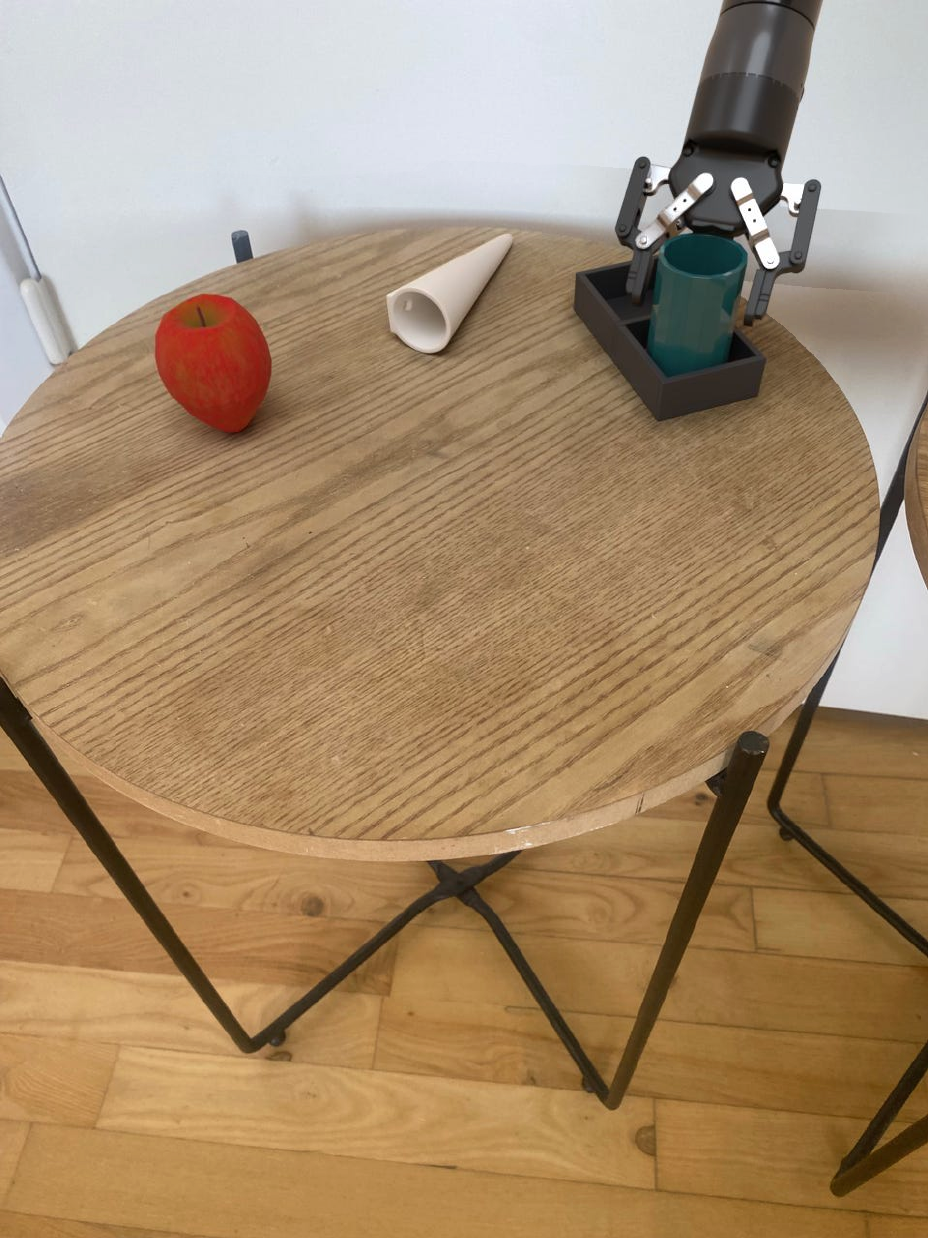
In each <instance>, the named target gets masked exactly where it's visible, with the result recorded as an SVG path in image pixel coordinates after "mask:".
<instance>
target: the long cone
mask: <svg viewBox="0 0 928 1238" xmlns="http://www.w3.org/2000/svg"><path fill="white" fill-rule="evenodd" d="M513 241H514V237H513V235H512V234H511V233H503V234H500V235H498V236H496V237H494V238H492V239H490V240H489V241H487V242H485V243H483V244H481V245H479V246H477V247H476V248H474V249H472V250H470V251H468V252H467V253H464V254H463V255H459V256H457V257H455V258H454V259H451V260H449V261H448V262H446V263H444V264H442V265H440V266H438V267H436V268H434V269H432V270H431V271H428V272H427V273H425V274H423V275H421V276H420V277H419V276H418V277H417V278H416V279H414V280H411V281H410V282H407V284H404V285H403V286H401V287H399V288H397V289H395V290H393V291H391V292H390V293H388V294H386V305H387V315H388V322H389V330H390V332H391V334H395V335H397V336H398V338H399V339H400V340H401V341H402V342H403V343H404V344H405V345H407V347H410V348H411V349H412V350H415V351H417V352H419V353H423V354H435V353H438V352H440V351H442V350H443V349H445V347H446V346H447V345H448V344H449V342H450V340H451V339H452V337H453V336H454V334H455V333H456V331H457V330H458V328H459V327H460V325H461V324H462V322H463V320H464V318H465V317H466V316H467V314H468V313H469V311H470V310H471V308H472V307H473V305H474V303H475V302H476V301H477V300H478V298H479V296H480V295H481V293H482V292H483V290H484V289H485V287H486V286H487V284H488V282H489V280H491V278H492V277H493V275H494V273H495V272H496V270H497V269H498V267H499V266H500V264H501V263H502V261H503V260H504V259H505V257H506V255H507V253H508V252H509V250H510V249H511V247H512V245H513ZM406 302H407V303H406ZM405 304H406V307H405V308H404V305H405Z"/></svg>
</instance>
